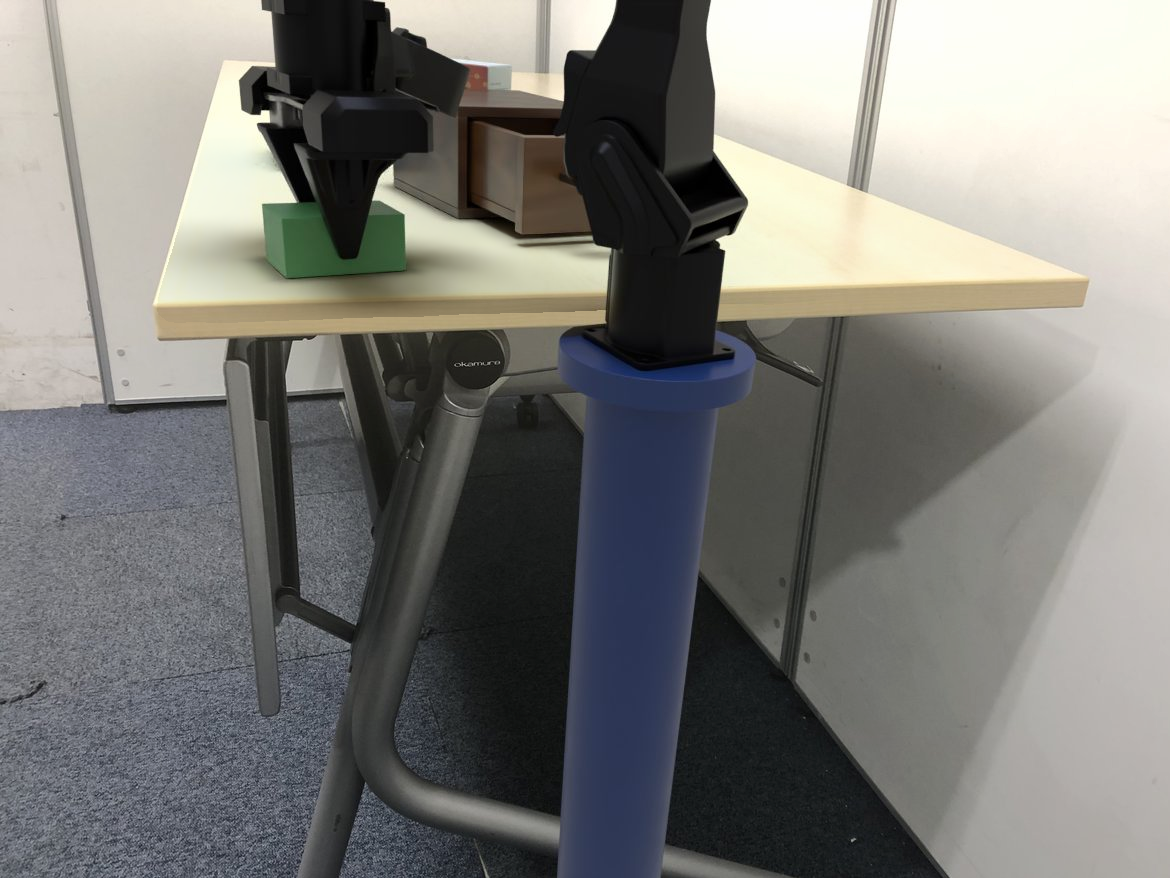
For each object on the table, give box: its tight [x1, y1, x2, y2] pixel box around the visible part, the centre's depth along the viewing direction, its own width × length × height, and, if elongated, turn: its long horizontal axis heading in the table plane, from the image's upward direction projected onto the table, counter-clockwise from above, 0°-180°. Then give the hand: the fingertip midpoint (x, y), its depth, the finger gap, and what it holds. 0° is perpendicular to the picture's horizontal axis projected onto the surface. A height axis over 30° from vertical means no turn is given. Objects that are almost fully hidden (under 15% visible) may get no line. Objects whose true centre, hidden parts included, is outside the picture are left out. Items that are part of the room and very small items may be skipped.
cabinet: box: [392, 89, 564, 219], centre depth 86 cm, size 15×13×9 cm
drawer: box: [467, 117, 591, 235], centre depth 77 cm, size 18×11×7 cm, turn 33°
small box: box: [449, 57, 513, 90], centre depth 99 cm, size 8×6×10 cm
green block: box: [261, 200, 407, 279], centre depth 62 cm, size 5×8×4 cm, turn 123°
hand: (336, 249), depth 63 cm, fingers closed on green block, 4 cm apart
